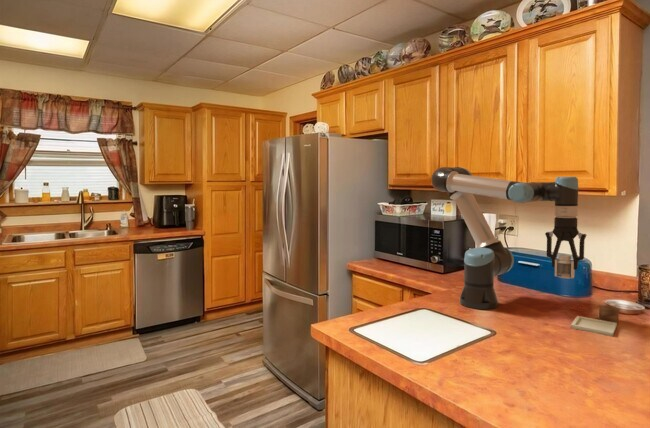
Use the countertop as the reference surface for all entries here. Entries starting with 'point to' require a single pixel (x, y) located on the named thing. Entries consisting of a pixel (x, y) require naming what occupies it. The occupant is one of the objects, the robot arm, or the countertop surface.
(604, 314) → the walnut cube
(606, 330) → the tray
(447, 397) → the countertop surface
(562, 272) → the pill bottle
